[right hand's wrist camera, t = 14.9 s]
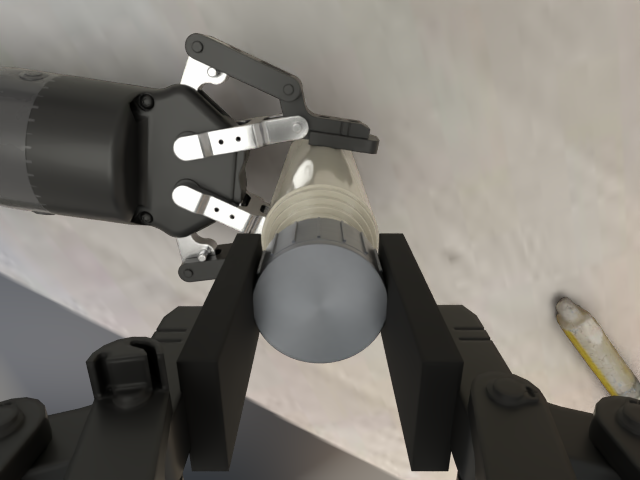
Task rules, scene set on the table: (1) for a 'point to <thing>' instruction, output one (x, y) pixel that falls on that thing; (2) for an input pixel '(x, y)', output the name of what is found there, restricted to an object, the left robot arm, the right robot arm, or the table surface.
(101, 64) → the table surface
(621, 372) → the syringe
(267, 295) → the cap
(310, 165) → the bottle
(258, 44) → the table surface
